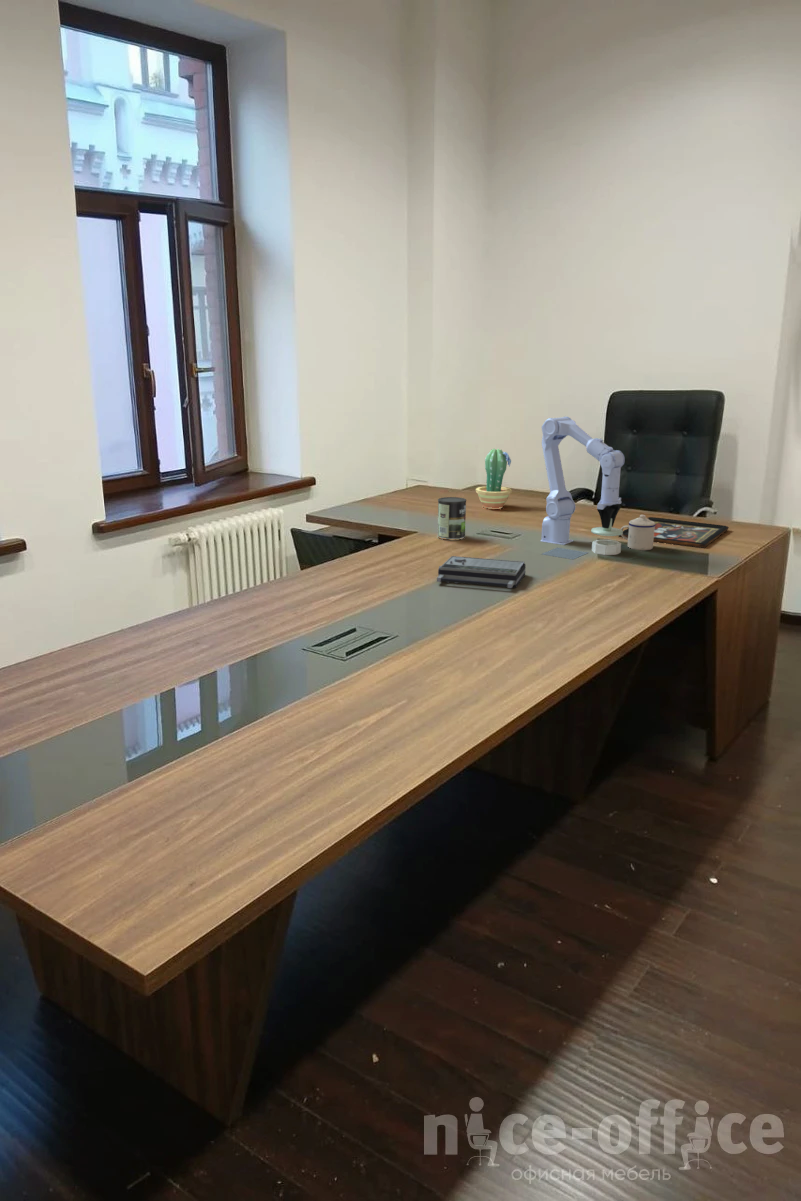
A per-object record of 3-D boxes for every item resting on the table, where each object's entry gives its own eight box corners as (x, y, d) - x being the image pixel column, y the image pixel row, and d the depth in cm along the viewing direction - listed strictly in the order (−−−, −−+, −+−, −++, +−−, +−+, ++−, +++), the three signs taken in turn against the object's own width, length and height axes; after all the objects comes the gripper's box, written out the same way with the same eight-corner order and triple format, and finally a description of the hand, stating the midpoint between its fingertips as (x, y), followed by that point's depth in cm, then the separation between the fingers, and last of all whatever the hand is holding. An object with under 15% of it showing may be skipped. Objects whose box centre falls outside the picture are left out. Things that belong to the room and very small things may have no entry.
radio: (526, 559, 278) (514, 575, 259) (525, 575, 279) (513, 592, 261) (449, 553, 285) (433, 568, 266) (449, 569, 286) (432, 585, 268)
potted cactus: (501, 512, 372) (503, 452, 365) (468, 508, 380) (470, 449, 373) (517, 506, 385) (520, 448, 377) (485, 503, 393) (487, 445, 385)
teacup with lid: (656, 546, 315) (659, 514, 312) (649, 552, 308) (652, 518, 305) (623, 542, 321) (625, 510, 318) (615, 547, 314) (617, 514, 310)
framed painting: (637, 521, 359) (637, 514, 358) (729, 530, 345) (730, 523, 344) (615, 541, 326) (616, 534, 326) (716, 553, 312) (717, 545, 311)
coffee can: (468, 535, 331) (469, 497, 327) (461, 541, 322) (462, 502, 318) (441, 533, 334) (442, 496, 330) (433, 539, 325) (434, 500, 321)
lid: (587, 533, 303) (588, 519, 301) (597, 527, 311) (598, 514, 310) (617, 537, 298) (618, 523, 296) (626, 531, 307) (627, 517, 305)
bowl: (588, 553, 306) (588, 543, 305) (599, 548, 313) (600, 538, 312) (612, 557, 301) (613, 547, 300) (623, 552, 308) (624, 542, 307)
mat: (540, 555, 303) (540, 554, 303) (557, 548, 312) (557, 547, 312) (573, 560, 296) (573, 559, 296) (588, 553, 305) (589, 552, 305)
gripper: (612, 491, 292) (609, 532, 296) (630, 485, 303) (627, 525, 307) (592, 489, 296) (589, 529, 300) (611, 483, 307) (608, 522, 311)
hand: (607, 527), depth 304 cm, fingers closed on lid, 3 cm apart
